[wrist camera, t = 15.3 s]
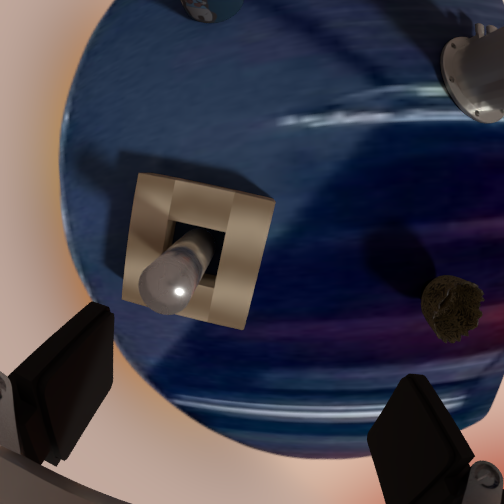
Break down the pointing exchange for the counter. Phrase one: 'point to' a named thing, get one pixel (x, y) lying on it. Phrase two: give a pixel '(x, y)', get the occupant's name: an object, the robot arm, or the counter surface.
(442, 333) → the brown bumpy hollow part
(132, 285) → the square wooden frame
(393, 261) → the counter surface
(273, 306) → the counter surface
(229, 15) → the soda can
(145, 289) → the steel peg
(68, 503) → the robot arm
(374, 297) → the counter surface
